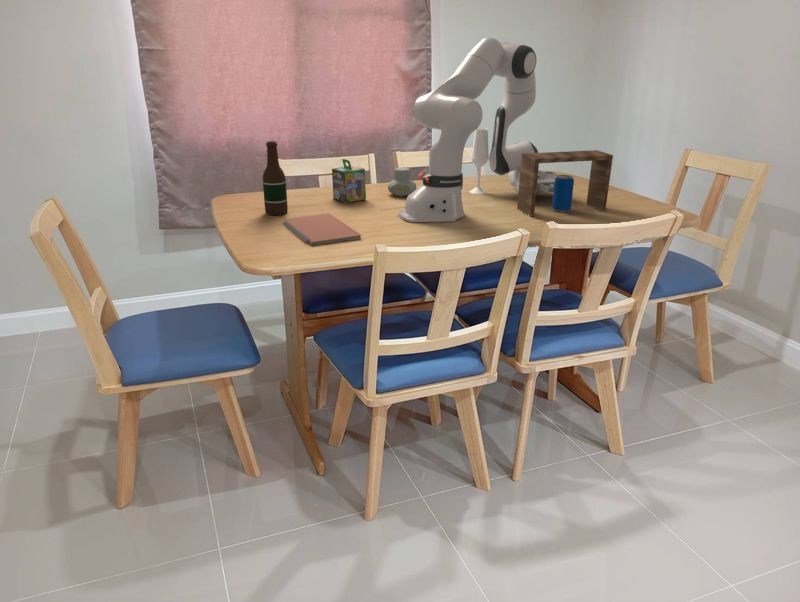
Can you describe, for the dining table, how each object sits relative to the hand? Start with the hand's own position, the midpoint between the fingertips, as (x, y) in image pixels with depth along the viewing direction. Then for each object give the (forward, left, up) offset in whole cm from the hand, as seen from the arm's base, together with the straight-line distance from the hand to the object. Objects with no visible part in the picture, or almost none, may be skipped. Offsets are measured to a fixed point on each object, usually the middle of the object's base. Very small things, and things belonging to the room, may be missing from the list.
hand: (551, 189), depth 226 cm
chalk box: (-69, +26, -6) cm, 74 cm away
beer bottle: (-97, +13, -6) cm, 98 cm away
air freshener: (-48, +28, -6) cm, 56 cm away
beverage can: (0, -8, -6) cm, 10 cm away
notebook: (-86, -11, -6) cm, 87 cm away
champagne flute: (-18, +25, -6) cm, 31 cm away
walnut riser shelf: (0, -8, -6) cm, 10 cm away
